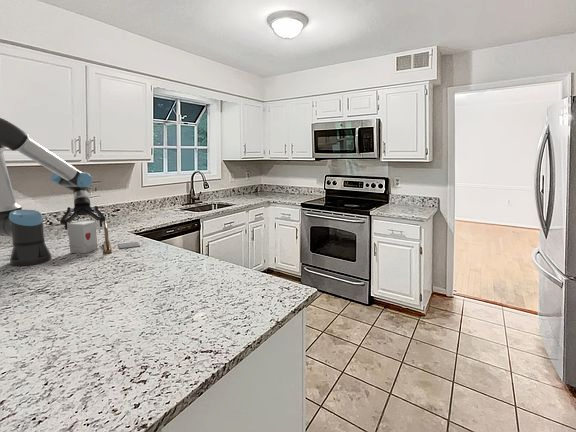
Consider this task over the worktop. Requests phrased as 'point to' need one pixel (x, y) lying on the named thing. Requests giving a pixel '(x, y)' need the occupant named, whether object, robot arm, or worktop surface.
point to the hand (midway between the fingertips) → (84, 233)
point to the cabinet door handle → (106, 240)
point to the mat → (129, 245)
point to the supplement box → (82, 236)
